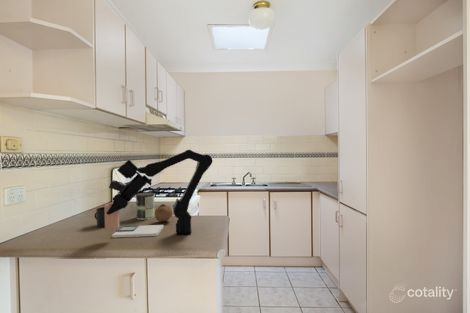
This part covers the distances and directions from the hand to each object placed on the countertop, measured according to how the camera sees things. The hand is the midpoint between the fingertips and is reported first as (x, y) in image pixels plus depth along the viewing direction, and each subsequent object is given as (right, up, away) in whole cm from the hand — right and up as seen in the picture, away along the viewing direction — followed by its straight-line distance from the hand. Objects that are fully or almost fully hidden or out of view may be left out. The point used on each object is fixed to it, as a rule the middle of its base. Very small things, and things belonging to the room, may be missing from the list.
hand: (108, 212), depth 112 cm
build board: (+9, -12, +12) cm, 19 cm away
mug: (-15, -12, +26) cm, 33 cm away
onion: (+16, -12, +29) cm, 35 cm away
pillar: (+1, -7, 0) cm, 7 cm away
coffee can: (+2, -12, +41) cm, 42 cm away
